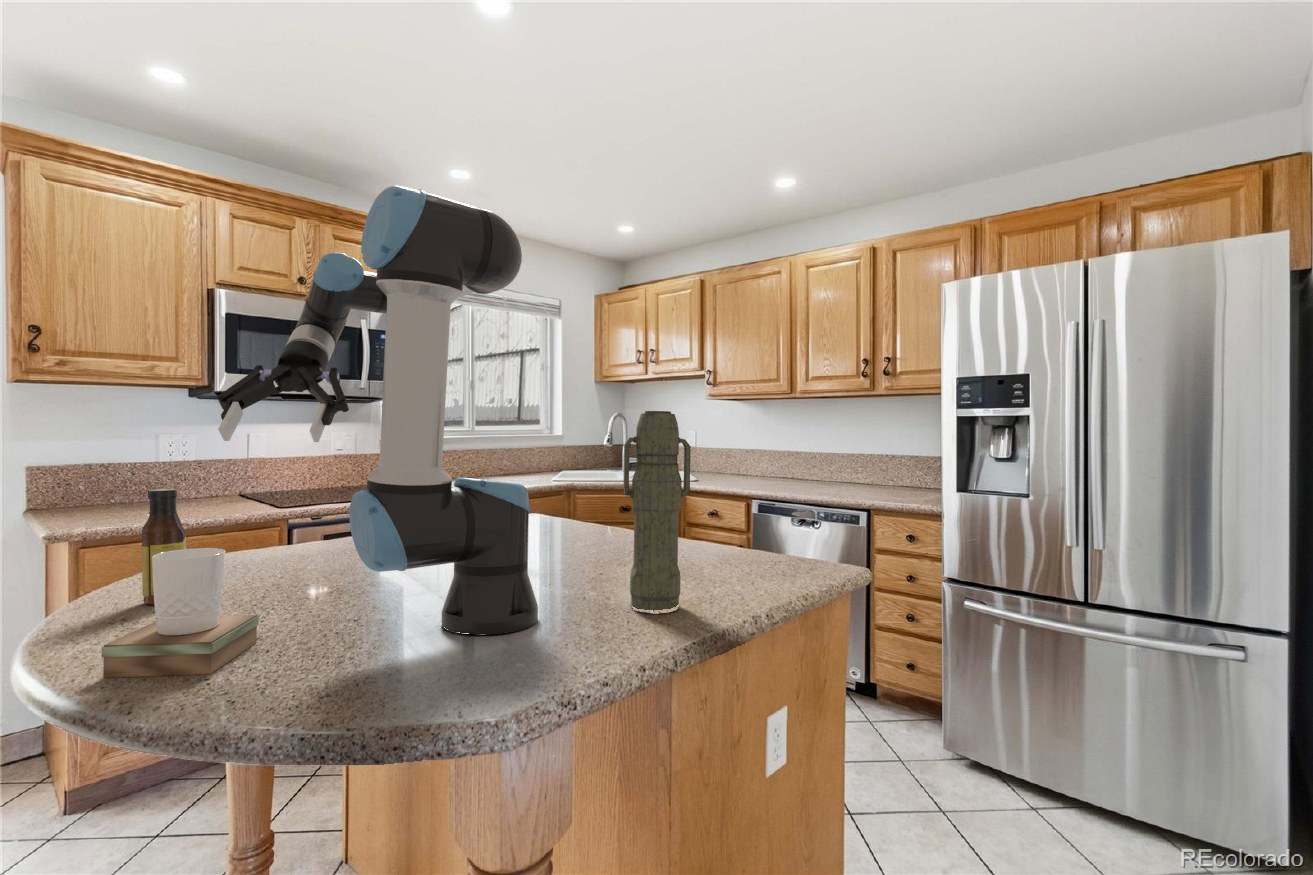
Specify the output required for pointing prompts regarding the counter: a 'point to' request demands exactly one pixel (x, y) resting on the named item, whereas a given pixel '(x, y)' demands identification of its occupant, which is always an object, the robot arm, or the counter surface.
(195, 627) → the white cup
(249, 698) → the counter surface
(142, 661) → the walnut block
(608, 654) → the counter surface
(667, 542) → the thermos
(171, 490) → the sauce bottle
